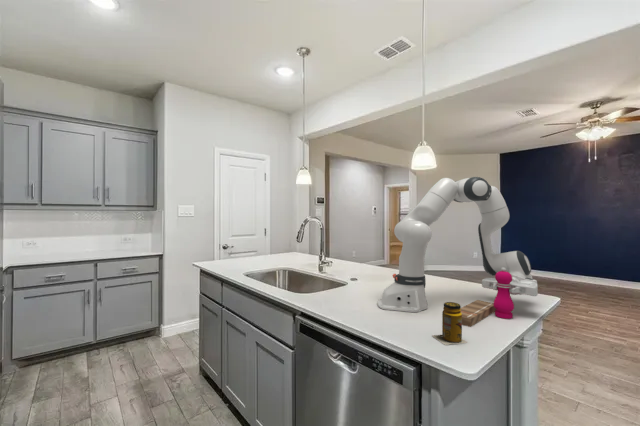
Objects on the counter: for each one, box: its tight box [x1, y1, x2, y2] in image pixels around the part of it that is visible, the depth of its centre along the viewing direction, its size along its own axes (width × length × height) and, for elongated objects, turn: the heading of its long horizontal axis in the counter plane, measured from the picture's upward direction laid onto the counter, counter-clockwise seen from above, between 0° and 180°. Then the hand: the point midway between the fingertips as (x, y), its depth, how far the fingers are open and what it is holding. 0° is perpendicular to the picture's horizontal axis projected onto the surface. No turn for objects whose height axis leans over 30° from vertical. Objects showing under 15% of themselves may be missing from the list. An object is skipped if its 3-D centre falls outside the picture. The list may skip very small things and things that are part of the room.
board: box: [460, 299, 496, 328], centre depth 125 cm, size 28×8×3 cm, turn 132°
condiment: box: [431, 301, 468, 346], centre depth 102 cm, size 7×8×12 cm
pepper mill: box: [493, 267, 515, 320], centre depth 124 cm, size 7×7×20 cm
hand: (503, 289), depth 123 cm, fingers closed on pepper mill, 5 cm apart
